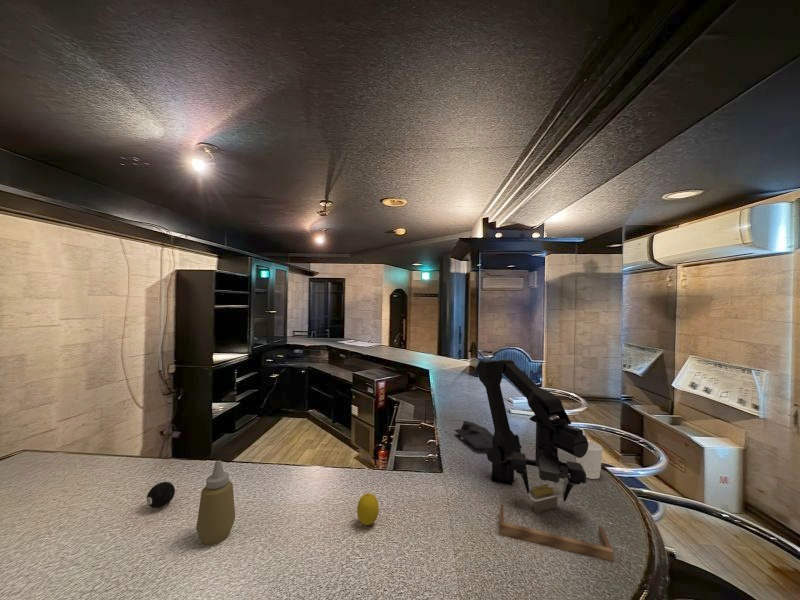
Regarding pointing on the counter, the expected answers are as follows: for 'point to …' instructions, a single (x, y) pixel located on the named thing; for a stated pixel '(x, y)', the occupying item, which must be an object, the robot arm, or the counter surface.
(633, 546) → the counter surface
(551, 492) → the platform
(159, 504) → the black ovoid
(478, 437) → the dark slate chunk
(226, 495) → the squeeze bottle
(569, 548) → the frame
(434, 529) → the counter surface
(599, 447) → the white cup
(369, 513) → the lemon
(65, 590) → the counter surface
